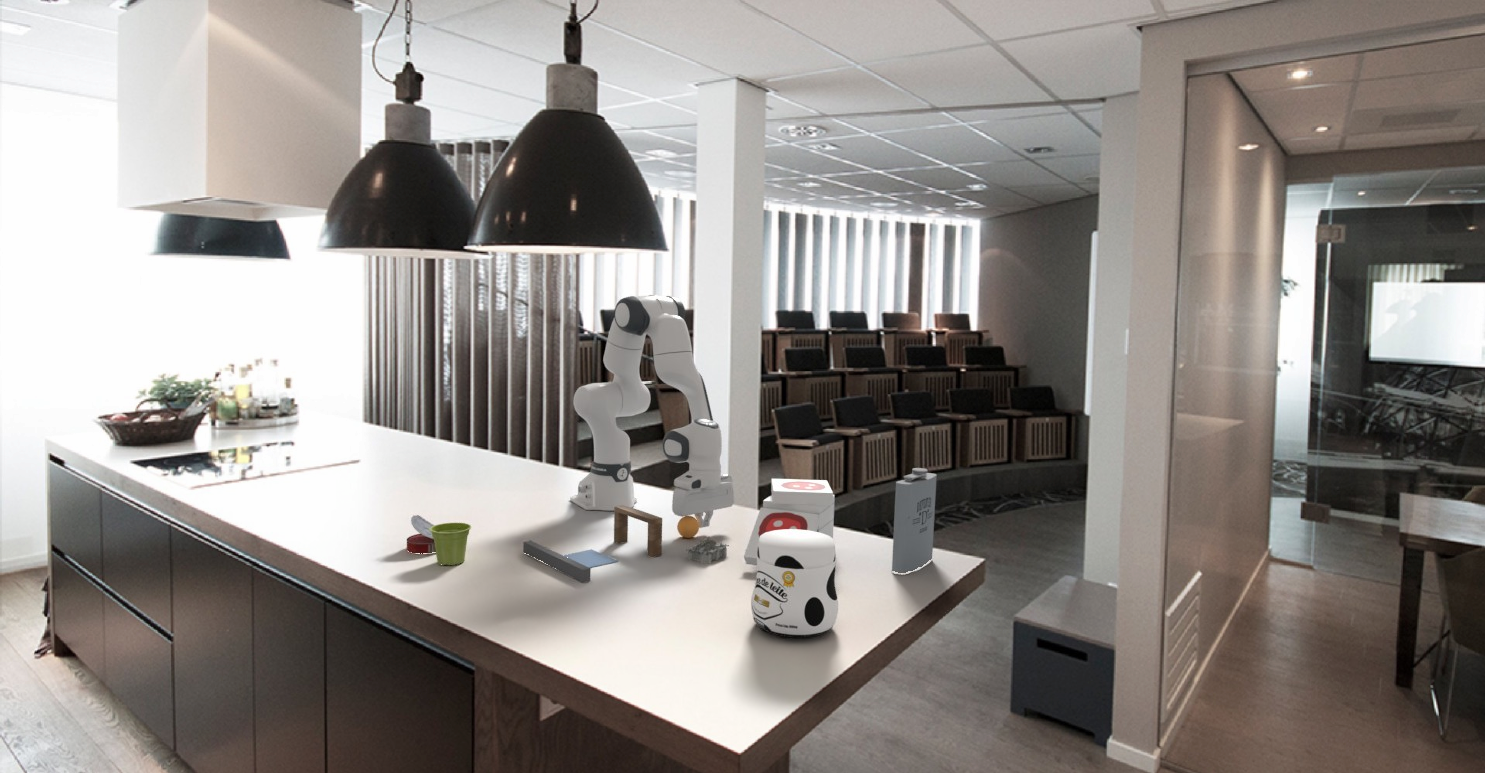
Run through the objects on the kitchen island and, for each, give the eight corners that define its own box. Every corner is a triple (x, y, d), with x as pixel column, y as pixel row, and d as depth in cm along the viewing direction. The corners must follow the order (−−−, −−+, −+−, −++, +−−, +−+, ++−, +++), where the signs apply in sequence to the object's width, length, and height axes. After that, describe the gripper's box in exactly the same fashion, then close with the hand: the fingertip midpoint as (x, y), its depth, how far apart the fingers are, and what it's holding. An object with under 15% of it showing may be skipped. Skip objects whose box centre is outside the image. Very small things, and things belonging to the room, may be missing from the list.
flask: (906, 577, 196) (912, 474, 193) (889, 572, 199) (894, 471, 196) (937, 560, 210) (942, 464, 207) (920, 556, 212) (925, 462, 210)
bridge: (652, 557, 205) (652, 519, 204) (613, 542, 217) (614, 506, 216) (661, 555, 207) (662, 517, 206) (623, 540, 219) (623, 504, 219)
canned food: (427, 560, 212) (440, 523, 216) (450, 564, 206) (463, 526, 210) (389, 549, 204) (404, 511, 207) (413, 553, 198) (427, 513, 202)
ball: (672, 536, 224) (673, 515, 223) (689, 533, 228) (690, 512, 227) (686, 541, 220) (686, 520, 219) (703, 538, 224) (703, 516, 223)
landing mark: (550, 558, 202) (550, 557, 202) (591, 549, 210) (591, 549, 210) (575, 571, 193) (575, 570, 193) (618, 561, 201) (618, 560, 201)
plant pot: (422, 561, 197) (422, 526, 196) (459, 553, 203) (459, 519, 203) (441, 571, 190) (441, 534, 189) (478, 562, 197) (478, 527, 196)
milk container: (737, 635, 158) (740, 545, 156) (767, 606, 174) (769, 523, 172) (824, 651, 152) (828, 557, 150) (846, 619, 168) (850, 534, 166)
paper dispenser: (735, 571, 197) (738, 497, 195) (775, 539, 225) (777, 474, 223) (812, 582, 190) (815, 506, 188) (843, 548, 218) (846, 482, 216)
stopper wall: (523, 553, 205) (523, 541, 205) (530, 551, 207) (530, 540, 207) (582, 582, 185) (582, 569, 185) (590, 580, 186) (590, 568, 186)
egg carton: (709, 550, 214) (709, 535, 213) (731, 556, 209) (732, 540, 209) (682, 559, 205) (682, 543, 205) (705, 565, 201) (705, 549, 200)
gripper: (724, 471, 236) (723, 518, 237) (669, 480, 221) (668, 530, 223) (739, 475, 231) (738, 523, 232) (684, 484, 217) (683, 535, 218)
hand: (703, 526), depth 227 cm, fingers closed
